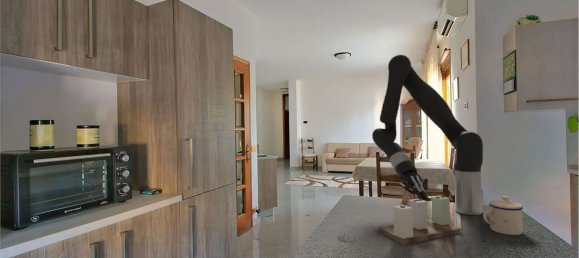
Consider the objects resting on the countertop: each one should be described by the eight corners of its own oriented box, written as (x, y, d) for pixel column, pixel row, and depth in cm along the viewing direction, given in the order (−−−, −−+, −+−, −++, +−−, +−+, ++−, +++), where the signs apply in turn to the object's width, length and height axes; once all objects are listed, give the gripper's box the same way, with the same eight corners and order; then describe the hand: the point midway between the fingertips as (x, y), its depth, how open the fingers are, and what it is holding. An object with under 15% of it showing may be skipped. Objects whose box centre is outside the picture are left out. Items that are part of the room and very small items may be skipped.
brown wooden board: (431, 221, 106) (431, 217, 106) (460, 232, 94) (460, 228, 94) (378, 231, 97) (378, 227, 97) (403, 244, 86) (403, 239, 86)
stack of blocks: (402, 200, 137) (401, 175, 137) (415, 200, 136) (415, 175, 136) (410, 213, 116) (410, 184, 116) (427, 214, 115) (426, 184, 115)
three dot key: (418, 224, 98) (418, 197, 98) (427, 228, 95) (427, 200, 95) (409, 225, 97) (409, 199, 97) (418, 229, 93) (417, 201, 93)
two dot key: (440, 220, 102) (439, 194, 102) (450, 223, 98) (449, 197, 98) (431, 221, 100) (431, 195, 100) (441, 225, 97) (440, 198, 97)
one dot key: (403, 232, 91) (403, 203, 91) (413, 236, 88) (412, 207, 88) (393, 234, 90) (393, 205, 90) (402, 238, 86) (402, 208, 86)
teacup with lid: (508, 225, 100) (508, 192, 100) (530, 235, 91) (530, 199, 91) (475, 226, 100) (474, 193, 100) (494, 236, 91) (493, 200, 91)
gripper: (393, 160, 112) (417, 198, 100) (420, 158, 116) (445, 194, 104) (385, 171, 117) (407, 209, 105) (410, 169, 121) (434, 205, 110)
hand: (426, 201), depth 105 cm, fingers closed
